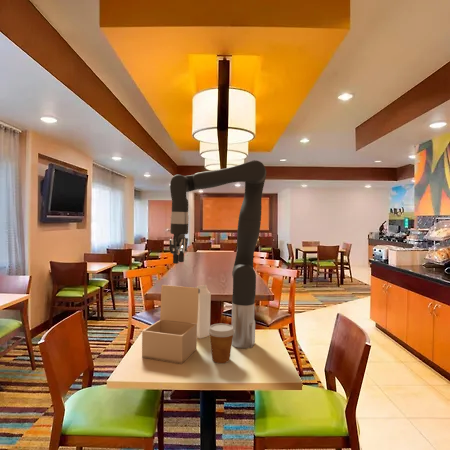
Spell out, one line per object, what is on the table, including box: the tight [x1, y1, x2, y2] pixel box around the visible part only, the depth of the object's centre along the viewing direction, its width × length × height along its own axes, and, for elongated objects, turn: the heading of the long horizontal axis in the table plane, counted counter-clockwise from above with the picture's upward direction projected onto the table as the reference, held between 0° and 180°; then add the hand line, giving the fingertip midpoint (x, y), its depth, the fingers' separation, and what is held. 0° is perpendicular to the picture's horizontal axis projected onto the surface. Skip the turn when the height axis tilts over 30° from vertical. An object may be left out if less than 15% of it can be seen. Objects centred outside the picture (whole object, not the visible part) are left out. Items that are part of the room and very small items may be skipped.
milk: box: [192, 284, 212, 340], centre depth 149 cm, size 6×6×22 cm
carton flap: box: [159, 284, 200, 324], centre depth 141 cm, size 16×14×9 cm
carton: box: [141, 319, 198, 365], centre depth 130 cm, size 16×14×10 cm
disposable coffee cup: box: [208, 323, 234, 364], centre depth 125 cm, size 10×10×12 cm
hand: (178, 262), depth 144 cm, fingers open, 5 cm apart
